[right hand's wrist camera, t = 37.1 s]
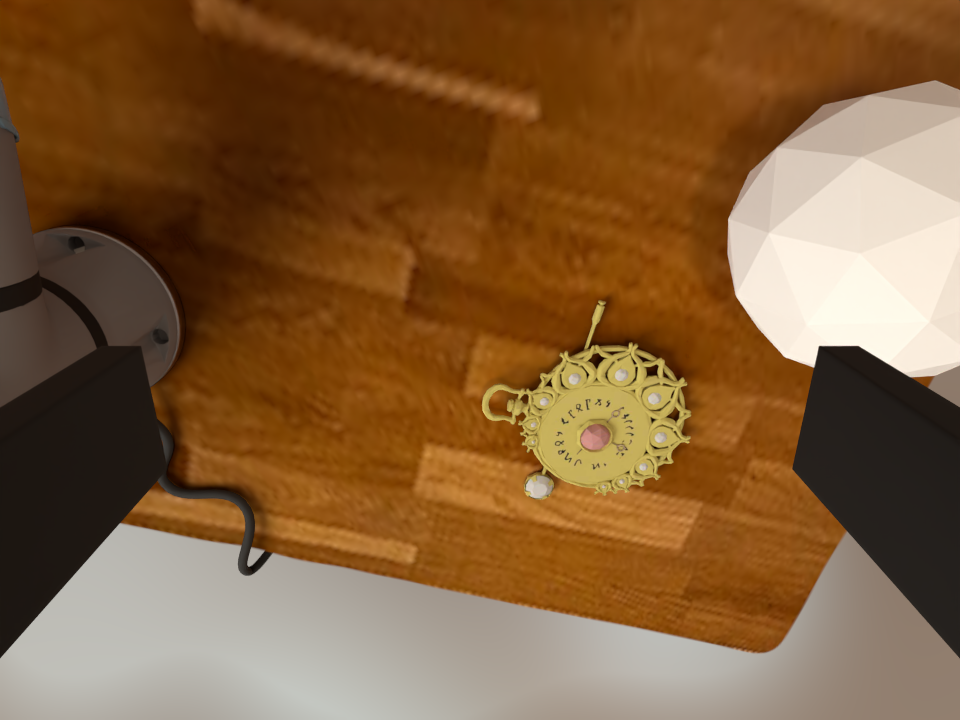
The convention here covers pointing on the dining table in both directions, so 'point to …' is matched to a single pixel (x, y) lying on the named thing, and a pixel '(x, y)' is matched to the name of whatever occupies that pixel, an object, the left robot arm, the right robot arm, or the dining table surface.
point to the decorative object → (598, 419)
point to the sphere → (858, 232)
